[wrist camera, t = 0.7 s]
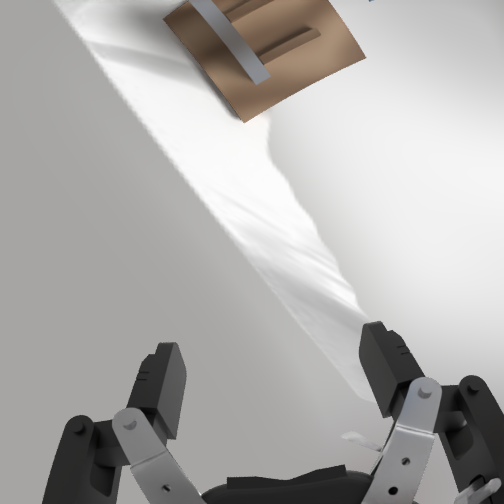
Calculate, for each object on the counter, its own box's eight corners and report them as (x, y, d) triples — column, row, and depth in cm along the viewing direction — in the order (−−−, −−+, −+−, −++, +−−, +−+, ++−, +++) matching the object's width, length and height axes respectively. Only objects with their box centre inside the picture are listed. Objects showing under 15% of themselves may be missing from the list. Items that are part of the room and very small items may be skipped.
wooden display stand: (166, 21, 24) (113, -4, 13) (284, -45, 18) (296, -100, 7) (244, 121, 31) (234, 148, 20) (362, 58, 26) (418, 53, 14)
